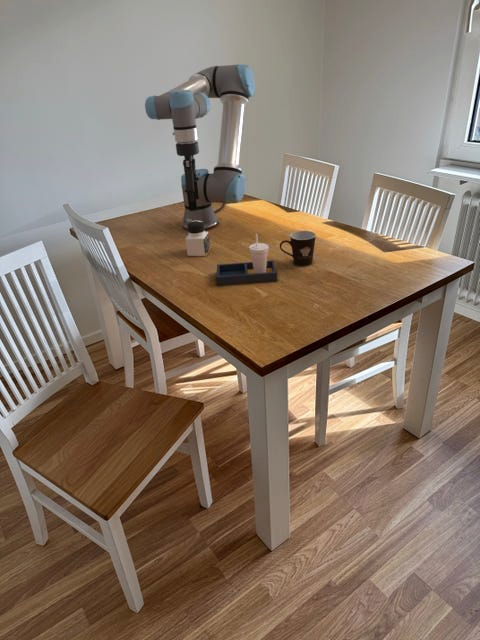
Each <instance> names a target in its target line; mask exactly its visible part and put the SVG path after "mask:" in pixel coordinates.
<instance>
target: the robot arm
mask: <svg viewBox="0 0 480 640" xmlns="http://www.w3.org/2000/svg"><path fill="white" fill-rule="evenodd" d="M255 90H256V83H255V77H254V74H253V70H252V69H251V67H250V66H249V65H248V64H245V63H244V64H239V63H237V64H229V65H213V66H209V67H206V68H204V69H201V70H199V71H198V72H196V73H194V74H192V75H190V77H189V79H188V80H186V81H185V82H183V83H180V84H179V85H177V86H175V87H173V88H172V89H170V90H168V91H166V92H165V93H161V94H160V95H151V96H147V97H146V99H145V103H144V109H145V113H146V115H147V117H148V118H149V119H150V120H158V121H160V120H172V126H173V127H172V128H173V132H172V136H174V141H175V142H176V144H175V149H176V150H175V151H176V155H177V156H178V157H184V159H183V161H182V166H183V171H184V173H183V174H181V177H180V186H181V190H182V198H183V204H184V212H183V219H182V227H183V229H185V230H187V231H188V226H187V225H188V223H190V222H192V221H202V222H203V223H204V230H205V231H206V230H211V229H213V228H215V227H217V226H218V223H219V222H218V217H217V216H216V213H217V212H219V211H221V210H223V208H224V207H225V205H226V204H228V205H229V204H238V203H240V202H241V201H242V199H243V197H244V195H245V192H246V189H247V188H246V187H247V183H246V180H247V179H246V176H245V174H244V173H243V170H242V168H240V157H241V145H242V134H243V123H244V113H245V107H246V106H247V105H248V104H249V101H250V100H249V99H250V98H252V97H254V95H255V93H256V92H255ZM210 99H219V101H220V103H221V104H222V114H221V124H220V134H219V149H218V159H217V164H216V165H215V166H214V167H213V172H212V173H209V172H210V171H209V169H207V168H199V169H196V158H195V157H194V156H195V155H198V154H199V153H200V148H199V142H198V139H199V138H198V129H197V122H196V120H197V119H201V118H203V117H205V116H207V115H208V114H209V112H210V111H211V100H210ZM212 203H213V204H216V203H217V204H222V205H221V206H220V207H219V208H217V209H216V210H214V208H213V205H212Z"/></svg>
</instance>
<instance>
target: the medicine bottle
mask: <svg viewBox="0 0 480 640" xmlns="http://www.w3.org/2000/svg"><path fill="white" fill-rule="evenodd" d="M187 226H188V230H187V231H188V235H187V236H186V237H185V239H184V240H185V247H186V253H187V257H206V256H207V255H208V254H209V252H210V251H211V243H210V234H209V231H206V230H204V223H203V222H202V221H192V222H190V223H188V225H187Z"/></svg>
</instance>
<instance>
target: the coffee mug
mask: <svg viewBox="0 0 480 640" xmlns="http://www.w3.org/2000/svg"><path fill="white" fill-rule="evenodd" d="M289 238H290V240H287V239H285V240H282V241H281V242H280V243H279V249H280V250H281V251H282V252H283V253H284V254H286V255H288V256H290V257H292V261H293V264H294V265H295V266H297V267H308V266H311V265H312V264H313V260H314V251H315V245H316V238H317V234H316V232H314V231H311V230H297V231H293V232H292V233H290V234H289ZM284 243H287V244H289V245H290V247H291V253H290V252H287V251H286V250H284V249H283V248H282V245H283V244H284Z"/></svg>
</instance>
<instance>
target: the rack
mask: <svg viewBox="0 0 480 640" xmlns="http://www.w3.org/2000/svg"><path fill="white" fill-rule="evenodd" d="M275 263H276V262H275V260H267V265H266V273H254V268H253V263H252V261H246V262H234V263H221V264H220V263H218V264H217V265H216V274H215V275H216V276H215V277H216V286H218V287H219V286H231V285H243V284H244V285H246V284H257V283H270V282H278V281H277V280H278V275H277V274H278V272H277V268H276V264H275Z"/></svg>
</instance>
